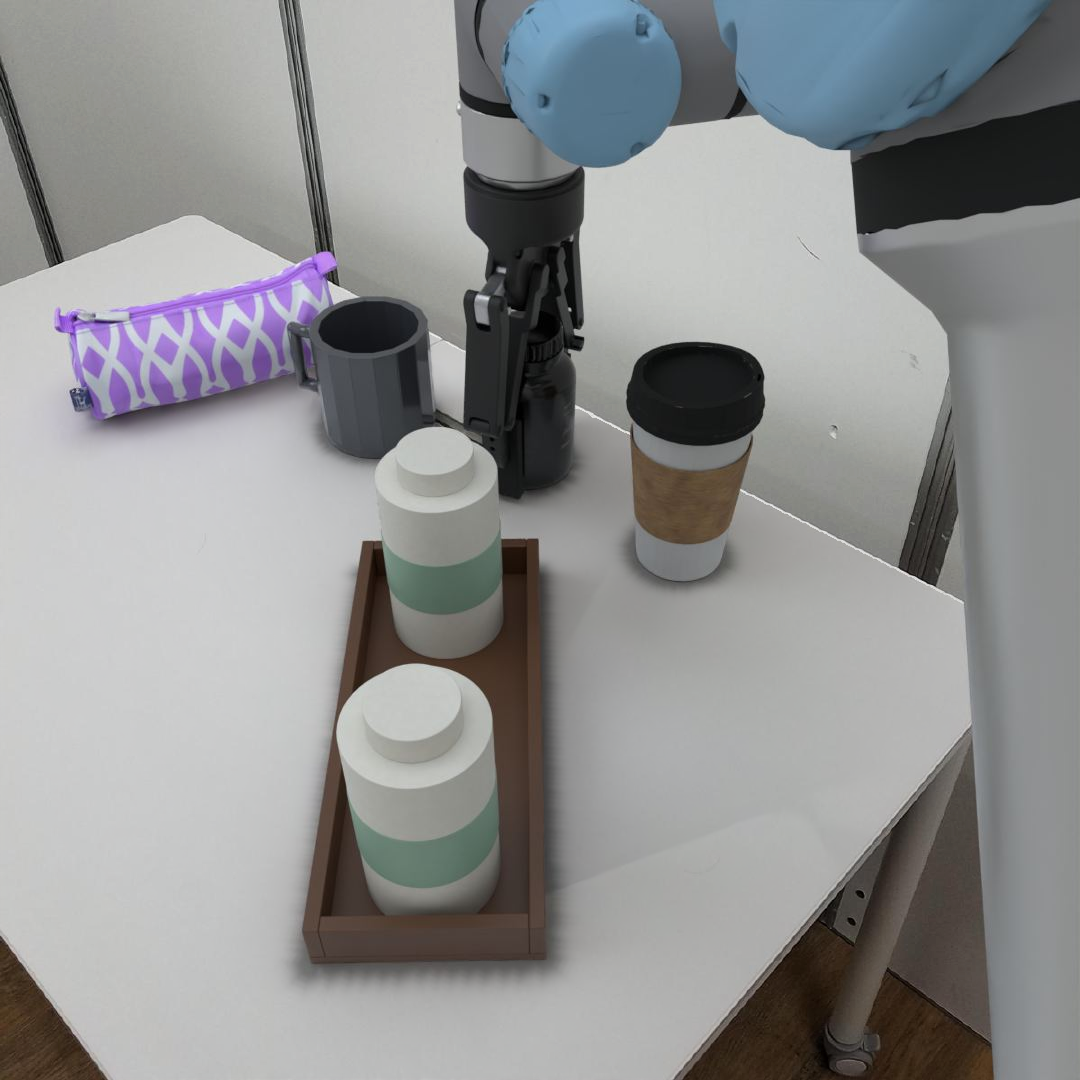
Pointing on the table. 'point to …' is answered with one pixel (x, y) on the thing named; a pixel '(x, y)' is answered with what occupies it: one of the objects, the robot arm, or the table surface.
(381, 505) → the white bottle far
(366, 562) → the tray
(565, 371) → the supplement bottle
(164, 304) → the pencil case
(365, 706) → the white bottle near
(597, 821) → the table surface
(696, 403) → the coffee cup
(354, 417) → the grey mug
